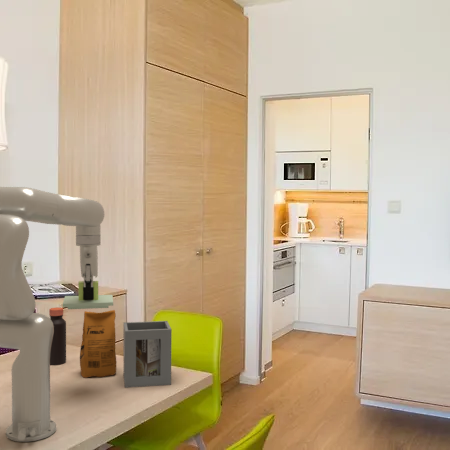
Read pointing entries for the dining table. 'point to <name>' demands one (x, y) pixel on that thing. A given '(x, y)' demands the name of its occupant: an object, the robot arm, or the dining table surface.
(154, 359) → the coffee box
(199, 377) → the dining table surface
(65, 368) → the dining table surface
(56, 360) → the bottle
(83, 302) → the lid
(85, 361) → the coffee package
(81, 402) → the dining table surface
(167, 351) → the crate
